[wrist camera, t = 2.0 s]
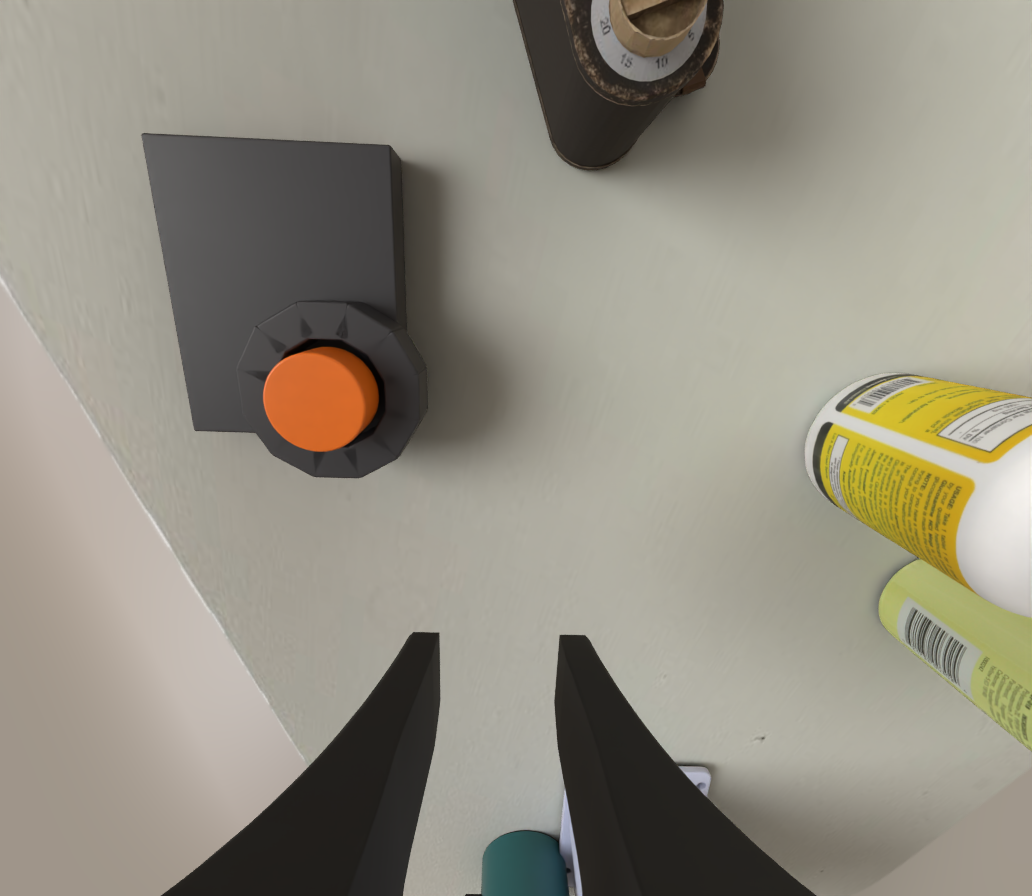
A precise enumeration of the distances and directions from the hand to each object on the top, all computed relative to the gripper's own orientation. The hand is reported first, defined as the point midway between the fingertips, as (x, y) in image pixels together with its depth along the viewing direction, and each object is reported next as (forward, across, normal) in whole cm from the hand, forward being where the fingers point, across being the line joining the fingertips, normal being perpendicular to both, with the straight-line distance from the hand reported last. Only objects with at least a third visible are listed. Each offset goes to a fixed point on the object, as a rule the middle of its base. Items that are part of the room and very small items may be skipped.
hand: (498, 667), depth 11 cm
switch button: (+7, +6, -5) cm, 11 cm away
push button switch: (+10, +8, -8) cm, 15 cm away
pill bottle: (+11, -16, -3) cm, 19 cm away
